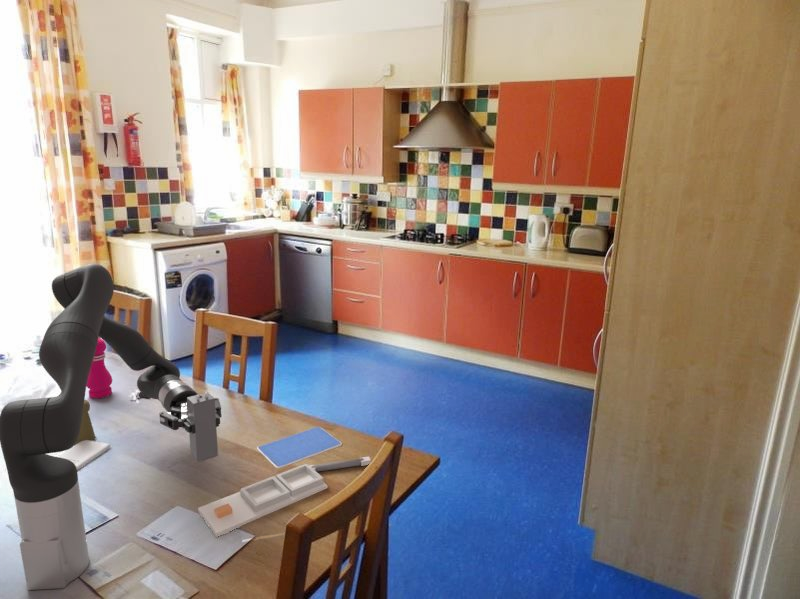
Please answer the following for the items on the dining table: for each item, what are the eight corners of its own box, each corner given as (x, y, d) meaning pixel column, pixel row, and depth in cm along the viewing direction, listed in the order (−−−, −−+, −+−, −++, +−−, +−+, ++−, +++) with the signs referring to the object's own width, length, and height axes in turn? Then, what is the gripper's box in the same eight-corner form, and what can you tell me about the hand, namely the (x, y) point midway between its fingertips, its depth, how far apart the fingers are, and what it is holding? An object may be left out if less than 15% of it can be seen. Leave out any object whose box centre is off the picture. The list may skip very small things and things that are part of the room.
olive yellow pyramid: (63, 441, 136) (58, 403, 133) (86, 431, 141) (81, 394, 139) (78, 448, 134) (72, 408, 131) (100, 437, 139) (96, 399, 136)
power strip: (305, 469, 128) (304, 460, 127) (327, 489, 120) (327, 479, 120) (198, 511, 111) (197, 501, 110) (216, 537, 104) (216, 526, 103)
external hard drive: (110, 449, 134) (71, 476, 123) (83, 444, 136) (42, 470, 124) (110, 443, 134) (70, 470, 122) (82, 439, 136) (41, 464, 124)
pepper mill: (88, 391, 165) (81, 331, 160) (114, 388, 168) (107, 329, 163) (86, 401, 159) (78, 338, 154) (113, 397, 162) (106, 336, 157)
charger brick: (217, 455, 117) (214, 393, 114) (197, 462, 114) (193, 398, 111) (211, 448, 120) (207, 387, 117) (190, 455, 117) (186, 392, 114)
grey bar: (369, 461, 131) (369, 455, 131) (370, 465, 129) (370, 459, 129) (304, 471, 127) (304, 465, 126) (305, 475, 125) (305, 469, 125)
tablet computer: (277, 472, 127) (277, 467, 127) (255, 450, 136) (254, 446, 136) (343, 448, 139) (343, 443, 139) (319, 429, 148) (319, 425, 148)
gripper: (146, 392, 121) (170, 419, 109) (208, 378, 130) (236, 402, 118) (149, 421, 123) (173, 452, 110) (209, 406, 132) (237, 432, 119)
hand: (205, 426), depth 114 cm, fingers closed on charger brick, 4 cm apart
